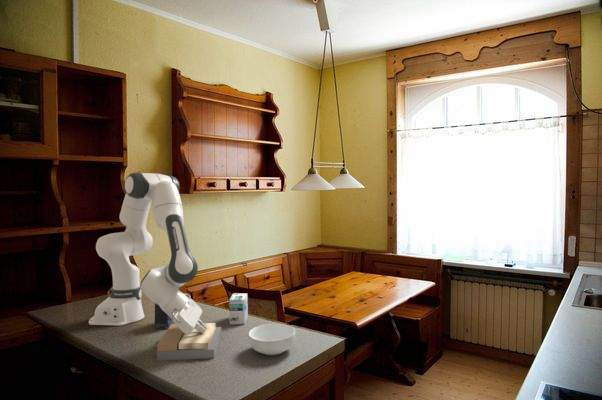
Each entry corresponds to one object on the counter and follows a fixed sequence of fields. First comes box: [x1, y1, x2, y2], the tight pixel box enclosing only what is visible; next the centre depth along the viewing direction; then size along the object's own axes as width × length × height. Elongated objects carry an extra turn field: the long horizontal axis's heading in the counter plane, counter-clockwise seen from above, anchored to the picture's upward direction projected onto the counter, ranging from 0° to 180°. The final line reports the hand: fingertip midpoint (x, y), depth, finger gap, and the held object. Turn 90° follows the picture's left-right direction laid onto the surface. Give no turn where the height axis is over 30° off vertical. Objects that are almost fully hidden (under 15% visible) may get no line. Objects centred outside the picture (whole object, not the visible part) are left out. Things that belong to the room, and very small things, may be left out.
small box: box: [154, 303, 175, 330], centre depth 171 cm, size 11×6×10 cm, turn 168°
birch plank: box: [179, 322, 217, 349], centre depth 147 cm, size 10×20×2 cm, turn 5°
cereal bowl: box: [248, 323, 297, 356], centre depth 143 cm, size 17×17×7 cm
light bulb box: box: [228, 292, 249, 325], centre depth 175 cm, size 11×7×11 cm, turn 0°
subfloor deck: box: [156, 324, 222, 362], centre depth 147 cm, size 19×22×5 cm
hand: (205, 331), depth 147 cm, fingers closed, pressing on birch plank
